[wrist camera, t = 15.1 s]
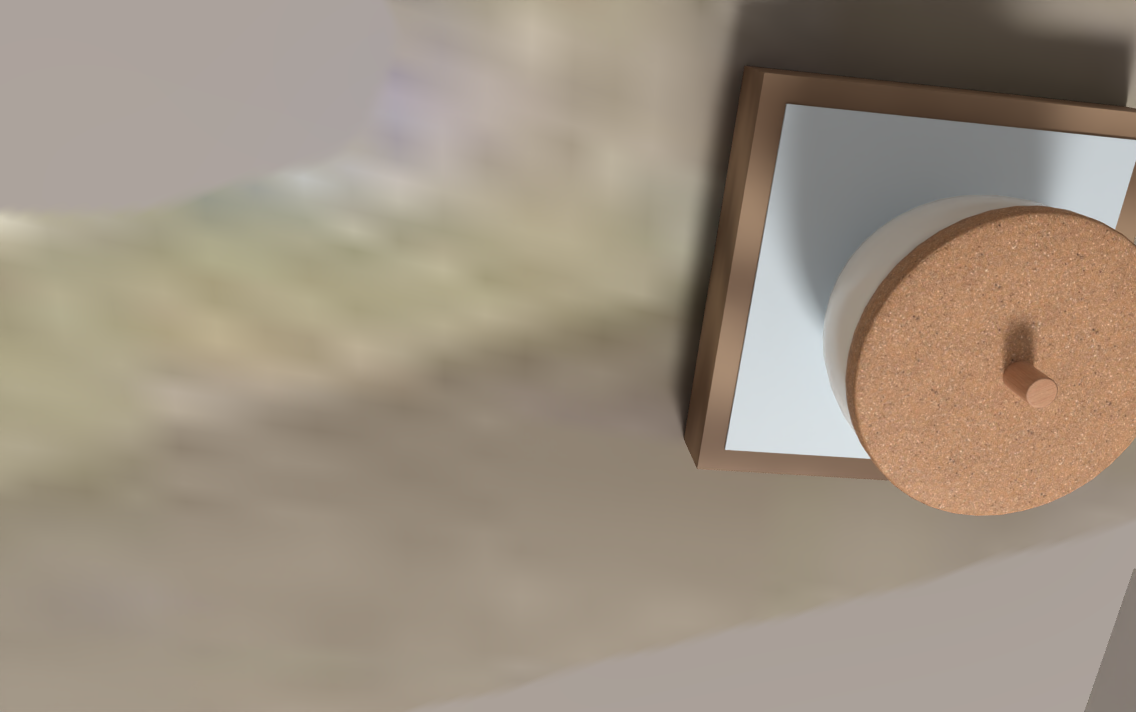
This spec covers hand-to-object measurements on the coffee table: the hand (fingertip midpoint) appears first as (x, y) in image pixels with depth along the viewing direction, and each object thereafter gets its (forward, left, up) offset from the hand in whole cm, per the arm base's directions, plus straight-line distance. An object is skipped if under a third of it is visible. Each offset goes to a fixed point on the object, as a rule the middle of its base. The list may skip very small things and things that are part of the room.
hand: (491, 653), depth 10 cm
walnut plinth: (+4, +18, -32) cm, 37 cm away
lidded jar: (+4, +18, -29) cm, 34 cm away
